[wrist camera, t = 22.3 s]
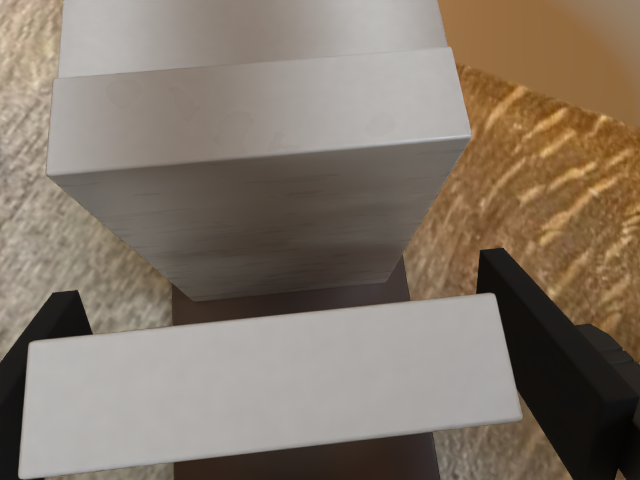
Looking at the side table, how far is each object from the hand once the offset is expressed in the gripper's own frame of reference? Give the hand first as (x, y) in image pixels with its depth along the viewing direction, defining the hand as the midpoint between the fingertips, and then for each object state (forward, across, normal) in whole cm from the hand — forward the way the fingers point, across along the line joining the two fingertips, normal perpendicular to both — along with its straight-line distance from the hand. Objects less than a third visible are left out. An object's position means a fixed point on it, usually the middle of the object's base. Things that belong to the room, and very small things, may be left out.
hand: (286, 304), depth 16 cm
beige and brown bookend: (+5, 0, -5) cm, 8 cm away
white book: (+3, 0, -6) cm, 7 cm away
